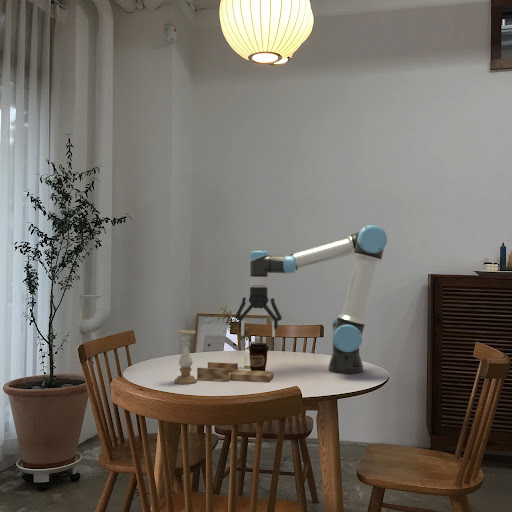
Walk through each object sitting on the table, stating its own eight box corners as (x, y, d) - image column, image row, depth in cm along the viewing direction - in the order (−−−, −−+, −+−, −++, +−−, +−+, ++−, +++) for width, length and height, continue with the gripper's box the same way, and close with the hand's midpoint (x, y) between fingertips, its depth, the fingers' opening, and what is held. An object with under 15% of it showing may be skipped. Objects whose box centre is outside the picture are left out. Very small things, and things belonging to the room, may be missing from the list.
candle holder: (176, 384, 223) (176, 332, 224) (172, 380, 232) (173, 329, 232) (198, 383, 226) (198, 331, 226) (194, 379, 234) (194, 329, 234)
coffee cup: (266, 376, 243) (266, 345, 243) (246, 375, 244) (247, 344, 244) (269, 372, 251) (269, 342, 251) (251, 371, 253) (251, 341, 253)
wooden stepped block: (274, 376, 241) (274, 365, 242) (267, 383, 227) (267, 371, 227) (208, 373, 248) (208, 362, 248) (197, 379, 233) (197, 367, 233)
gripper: (288, 287, 249) (288, 336, 249) (233, 285, 255) (232, 333, 254) (285, 287, 242) (285, 338, 242) (228, 286, 248) (227, 335, 247)
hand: (258, 336), depth 248 cm, fingers open, 13 cm apart
